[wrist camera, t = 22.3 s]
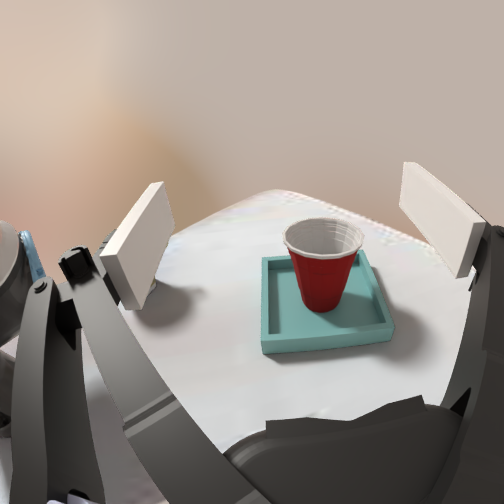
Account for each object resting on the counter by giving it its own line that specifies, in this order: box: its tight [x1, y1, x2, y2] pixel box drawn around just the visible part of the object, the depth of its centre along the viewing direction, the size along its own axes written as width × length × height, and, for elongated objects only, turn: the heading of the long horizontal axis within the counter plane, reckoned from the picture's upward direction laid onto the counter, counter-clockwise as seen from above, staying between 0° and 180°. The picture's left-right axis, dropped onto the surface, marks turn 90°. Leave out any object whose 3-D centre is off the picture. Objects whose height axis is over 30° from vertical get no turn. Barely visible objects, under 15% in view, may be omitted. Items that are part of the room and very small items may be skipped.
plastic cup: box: [282, 217, 364, 313], centre depth 41 cm, size 11×11×12 cm
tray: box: [261, 250, 395, 354], centre depth 44 cm, size 18×18×3 cm
